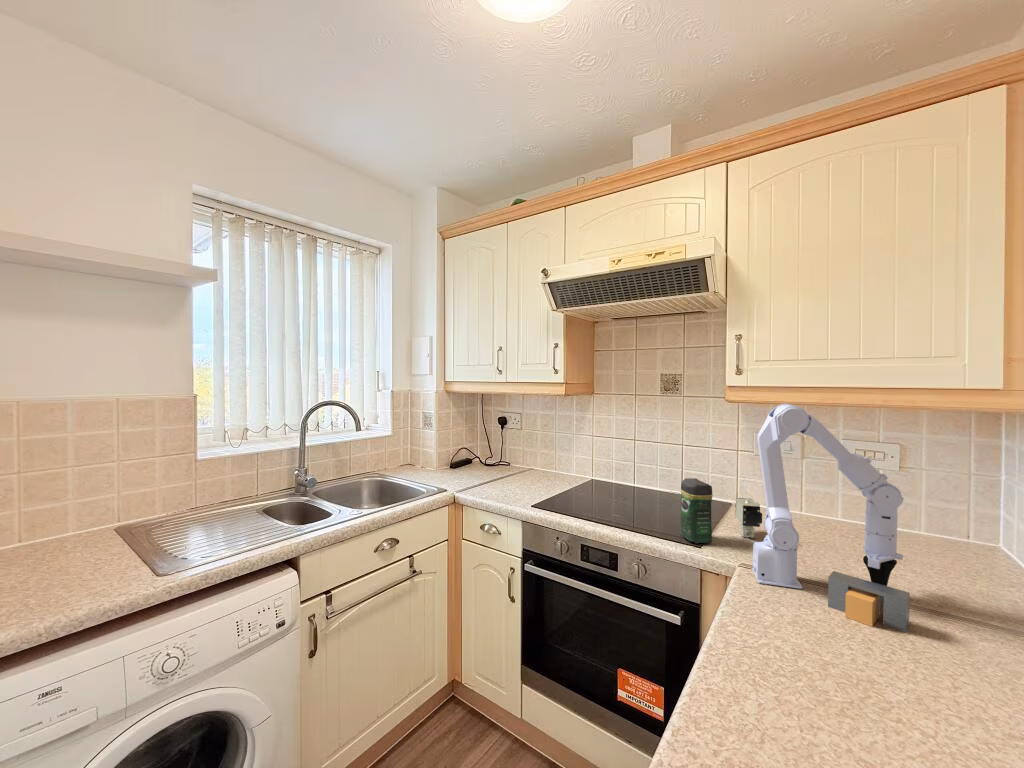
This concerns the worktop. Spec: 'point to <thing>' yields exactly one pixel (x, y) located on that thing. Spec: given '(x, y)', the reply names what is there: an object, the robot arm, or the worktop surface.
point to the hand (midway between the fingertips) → (879, 589)
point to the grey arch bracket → (893, 598)
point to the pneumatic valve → (748, 516)
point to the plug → (863, 606)
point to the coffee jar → (696, 511)
